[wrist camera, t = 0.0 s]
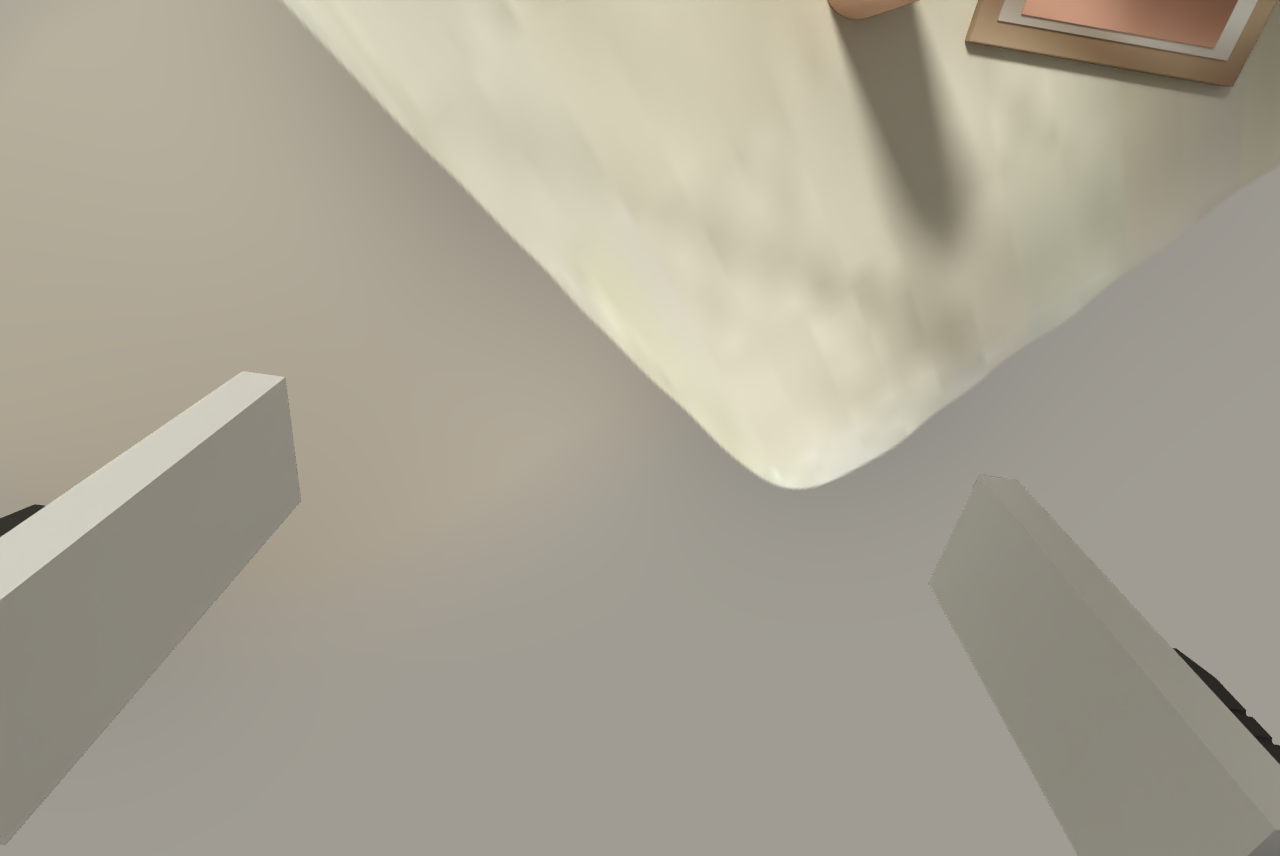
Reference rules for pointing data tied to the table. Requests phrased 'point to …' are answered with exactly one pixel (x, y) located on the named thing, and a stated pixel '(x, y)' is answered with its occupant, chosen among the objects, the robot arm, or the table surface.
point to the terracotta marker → (865, 7)
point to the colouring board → (1130, 33)
